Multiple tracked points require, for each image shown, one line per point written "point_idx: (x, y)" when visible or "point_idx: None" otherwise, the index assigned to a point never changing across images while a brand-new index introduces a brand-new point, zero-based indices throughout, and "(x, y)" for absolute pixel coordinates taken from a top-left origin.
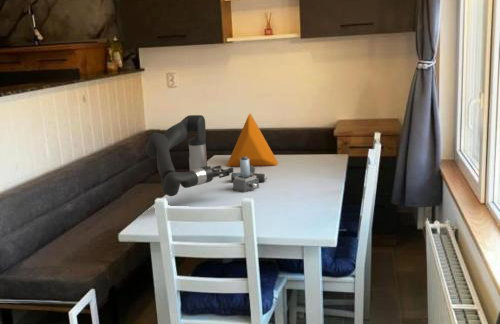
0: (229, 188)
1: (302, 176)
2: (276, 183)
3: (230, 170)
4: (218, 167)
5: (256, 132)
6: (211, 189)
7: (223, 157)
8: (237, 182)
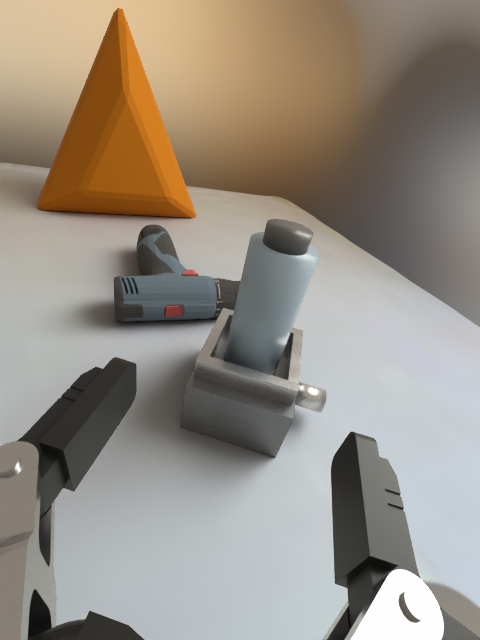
0: (142, 406)
1: (320, 272)
2: (305, 322)
3: (400, 528)
4: (109, 406)
5: (149, 98)
6: None
7: (11, 171)
8: (227, 405)
